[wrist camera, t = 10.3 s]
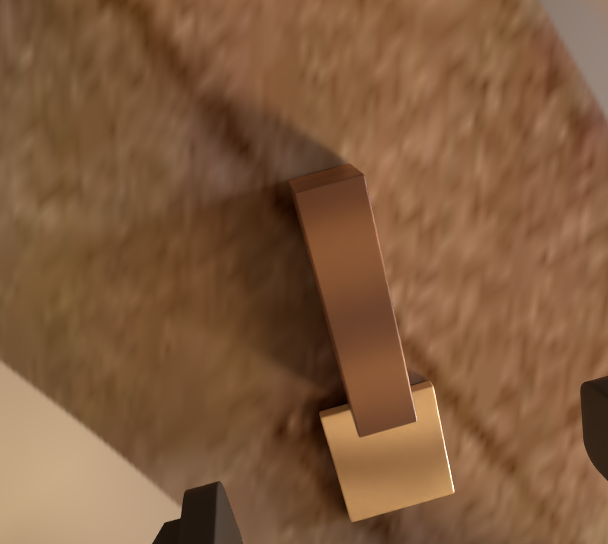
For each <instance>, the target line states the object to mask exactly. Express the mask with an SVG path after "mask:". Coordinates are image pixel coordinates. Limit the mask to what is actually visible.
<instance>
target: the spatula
mask: <svg viewBox="0 0 608 544" xmlns="http://www.w3.org/2000/svg"><path fill="white" fill-rule="evenodd" d="M289 186H290V190H291V194H292V197H293V201H294V205H295V208H296V212H297V216H298V220H299V223H300V227H301V231H302V234H303V238H304V242H305V246H306V249H307V253H308V257H309V261H310V264H311V268H312V272H313V275H314V279H315V283H316V287H317V290H318V294H319V298H320V302H321V305H322V309H323V313H324V316H325V320H326V324H327V328H328V331H329V335H330V339H331V343H332V346H333V350H334V354H335V357H336V361H337V365H338V369H339V372H340V376H341V380H342V384H343V387H344V391H345V395H346V398H347V402H348V404H345V405H341V406H338V407H334V408H330V409H327V410H323V411H320V412H319V414H320V419H321V422H322V425H323V429H324V432H325V436H326V439H327V442H328V446H329V449H330V453H331V456H332V459H333V463H334V466H335V470H336V473H337V476H338V480H339V483H340V487H341V490H342V494H343V497H344V500H345V504H346V507H347V511H348V514H349V517H350V521H351V522H355V521H359V520H362V519H366V518H369V517H373V516H376V515H380V514H383V513H387V512H390V511H394V510H397V509H401V508H404V507H408V506H411V505H415V504H418V503H422V502H425V501H429V500H432V499H436V498H439V497H443V496H446V495H450V494H453V493H454V487H453V482H452V477H451V472H450V467H449V462H448V457H447V452H446V447H445V442H444V437H443V432H442V427H441V422H440V417H439V412H438V407H437V402H436V397H435V392H434V387H433V385H432V383H431V382H430V381H426V382H423V383H419V384H415V385H412V386H410V382H409V377H408V373H407V368H406V364H405V359H404V354H403V350H402V345H401V341H400V336H399V331H398V327H397V322H396V317H395V313H394V308H393V304H392V299H391V294H390V290H389V285H388V281H387V276H386V271H385V267H384V262H383V257H382V253H381V248H380V244H379V239H378V234H377V230H376V225H375V220H374V216H373V211H372V207H371V202H370V197H369V193H368V188H367V184H366V179H365V175H364V174H363V173H362V172H360V171H359V170H358V169H357V168H355V167H354V166H353V165H351V164H346V165H342V166H339V167H335V168H331V169H328V170H324V171H321V172H317V173H313V174H310V175H306V176H303V177H299V178H295V179H292V180H289Z"/></svg>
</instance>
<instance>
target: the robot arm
mask: <svg viewBox="0 0 608 544" xmlns="http://www.w3.org/2000/svg"><path fill="white" fill-rule="evenodd" d="M580 394H581V409H582V425H583V439H584V445H585V448H586V451H587V454H588V456H589V458H590V460H591V461H592V463H593V465H594V466H595V467H596V469H597V470H598V471H599V472H600V473H601V474H602V475H603V476H604V477H605V478H606V480H607V481H608V376H606V377H602V378H598V379H595V380H591V381H587V382H584V383H583V384H582V385H581V390H580ZM152 544H243V541H242V537H241V534H240V531H239V528H238V526H237V523H236V520H235V517H234V514H233V512H232V509H231V506H230V503H229V501H228V498H227V495H226V492H225V489H224V487H223V485H222V483H221V482H220V481H218V482H214V483H211V484H207V485H204V486H200V487H196V488H193V489H189V490H186V491H185V493H184V497H183V505H182V512H181V518H180V519H177V520H173V521H169V522H166V523H164V525H163V527H162V528H161V530H160V531H159V533H158V535H157V536H156V538H155V540H154V542H153V543H152Z"/></svg>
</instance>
